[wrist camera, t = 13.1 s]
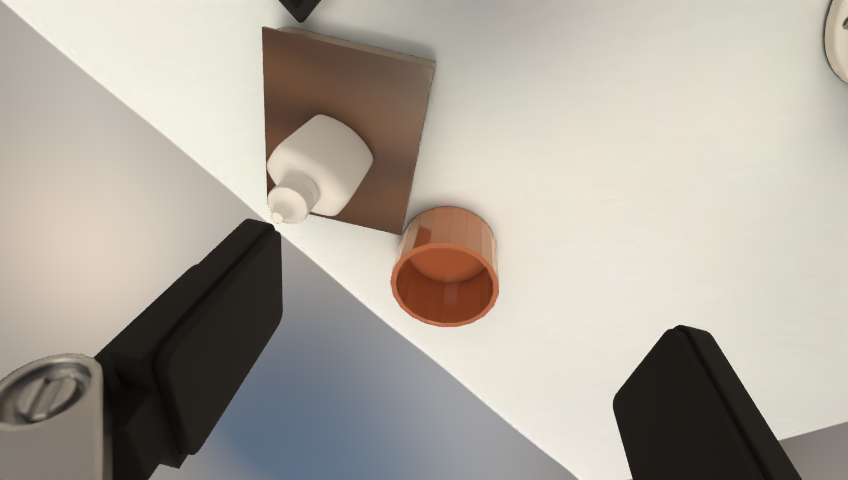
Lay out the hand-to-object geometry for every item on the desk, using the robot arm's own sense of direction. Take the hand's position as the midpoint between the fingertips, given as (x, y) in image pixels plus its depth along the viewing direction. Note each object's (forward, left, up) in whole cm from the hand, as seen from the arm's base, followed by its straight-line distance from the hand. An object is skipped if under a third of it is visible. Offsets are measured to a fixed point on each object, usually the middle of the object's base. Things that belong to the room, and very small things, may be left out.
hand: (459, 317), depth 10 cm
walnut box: (+6, -9, -26) cm, 29 cm away
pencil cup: (+16, +2, -26) cm, 31 cm away
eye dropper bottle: (+6, -9, -23) cm, 25 cm away
